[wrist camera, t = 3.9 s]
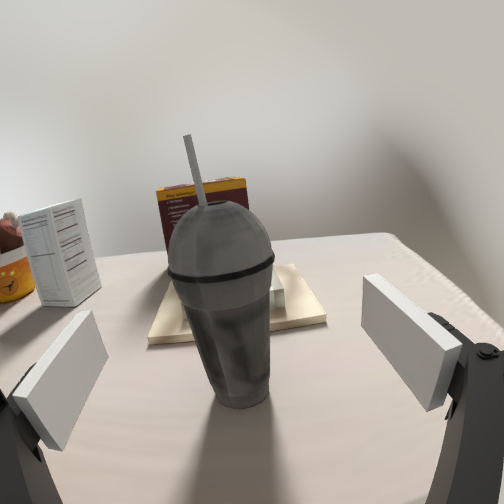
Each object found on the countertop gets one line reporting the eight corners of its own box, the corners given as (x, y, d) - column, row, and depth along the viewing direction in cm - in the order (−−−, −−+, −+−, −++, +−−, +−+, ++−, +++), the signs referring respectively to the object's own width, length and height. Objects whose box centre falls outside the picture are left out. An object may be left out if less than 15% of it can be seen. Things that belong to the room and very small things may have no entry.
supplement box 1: (103, 286, 52) (83, 197, 47) (76, 308, 43) (50, 206, 38) (68, 287, 53) (48, 205, 48) (40, 306, 44) (16, 215, 40)
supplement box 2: (171, 263, 61) (158, 187, 57) (243, 250, 64) (234, 176, 60) (170, 280, 52) (154, 190, 47) (256, 264, 55) (246, 176, 50)
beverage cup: (303, 388, 23) (285, 123, 17) (231, 435, 19) (174, 126, 13) (249, 355, 29) (221, 138, 23) (184, 387, 25) (133, 148, 19)
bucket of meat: (62, 278, 59) (43, 192, 54) (20, 309, 43) (-7, 204, 38) (11, 282, 60) (-7, 208, 54) (-29, 308, 44) (-52, 223, 39)
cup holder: (149, 344, 32) (141, 317, 31) (172, 285, 49) (168, 265, 48) (326, 321, 33) (326, 293, 32) (292, 269, 50) (291, 248, 49)
